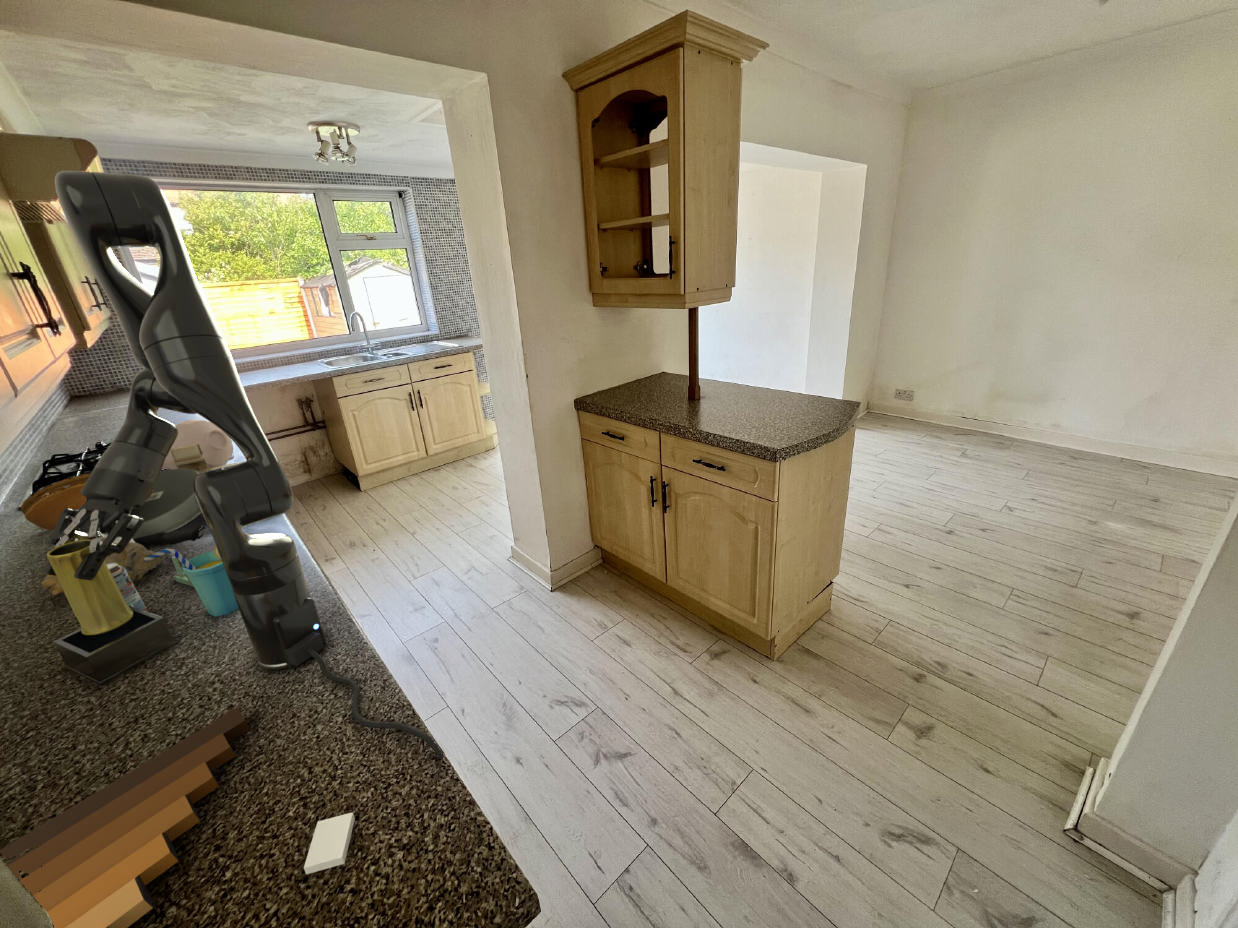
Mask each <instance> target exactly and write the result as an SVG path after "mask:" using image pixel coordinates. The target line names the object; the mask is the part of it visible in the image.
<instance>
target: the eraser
mask: <svg viewBox="0 0 1238 928" xmlns="http://www.w3.org/2000/svg"><path fill="white" fill-rule="evenodd" d="M355 820H356V817H355V815H354V812H352V811H351V812H349V813H345V814H340V815H338V816H337V815H336V816H334V817H330V818H326V819H322V820H318V821H317V822H316V826H315V829H314V832H313V836H312V839H311V843H310V846H309V849H308V852H307V854H306V855H307V856H306V859H305V863H304V865H303V870H304V872H305V875H310V874H313V873H317V872H320V871H324V870H327V869H331V868H335V867H338V866H343V865H345V863H346V859H347V855H348V850H349V846H350V842H351V838H352V833H353V828H354V824H355Z"/></svg>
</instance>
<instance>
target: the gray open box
mask: <svg viewBox="0 0 1238 928" xmlns="http://www.w3.org/2000/svg"><path fill="white" fill-rule="evenodd" d="M128 607H129V608H130V609H131V610H132V612H133V616H132V618H131V619H130V620H129V621H128V622H126V623H125V624H123V625H122V626H120V627H118V628H116V629H113V630H111V631H108V632H105V633H102V634H97V635H84V634H82V632H81V628H79V629H77V630H75V631H72V632H71V633H69V634H66V635H64V636H62V637H60V638H58V639H56V640H53V644H54V646H55V648H56V650H57V651H58V654H59V655H60V658H61V659H62V661H63V663H64V665H65V666H66V668H67V670H68V671H70V672H72V673H74V674H75V675H79V676H80V677H82V678H84V679H87V680H88V681H91V682H92V683H94V684H97V685H99V686H101V687H102V686H104V685H107V684H108V683H109V682H111V681H113V680H115V679H116V678H119V677H121V676H122V675H124V674H125V673H127V672H129V671H131V670H132V669H134V668H137V667H138V666H140V665H141V664H143V663H145V662H147V661H148V660H150V659H152V658H154V657H156V656H157V655H159V654H160V653H163V652H164V651H166V650H168V649H170V648H171V647H174V646H175V645H176V644H175V641H174V639H173V637H172V634H171V631H170V629H169V627H168V625H167V623H166V620H165V618H164V617H163V616H161V615H158V614H155V613H152V612H149V611H148V610H147V611H148V612H147V611H144V610H142V609H139V608H136V607H133V606H131V605H130V606H128Z"/></svg>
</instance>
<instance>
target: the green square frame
mask: <svg viewBox="0 0 1238 928" xmlns="http://www.w3.org/2000/svg"><path fill="white" fill-rule="evenodd" d="M171 560H172V563H173V565H174V568H175V570H176V573H177V574H176V575H174V576H173V577H174V580H175V582H178V583H181V584H183V585H187V586H190V587H193V588H195V587H194V586H193V584H192V582H191V580H190V578H189V577H188V575H187V574H186V573H184V572H183V570H182V568H183V567H184V564H183V563H182V562H180V563H179V560H178V559H177V558H176V557H175V556H174V557H172V556H171ZM180 564H181V566H182V567H181V566H180Z"/></svg>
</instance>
